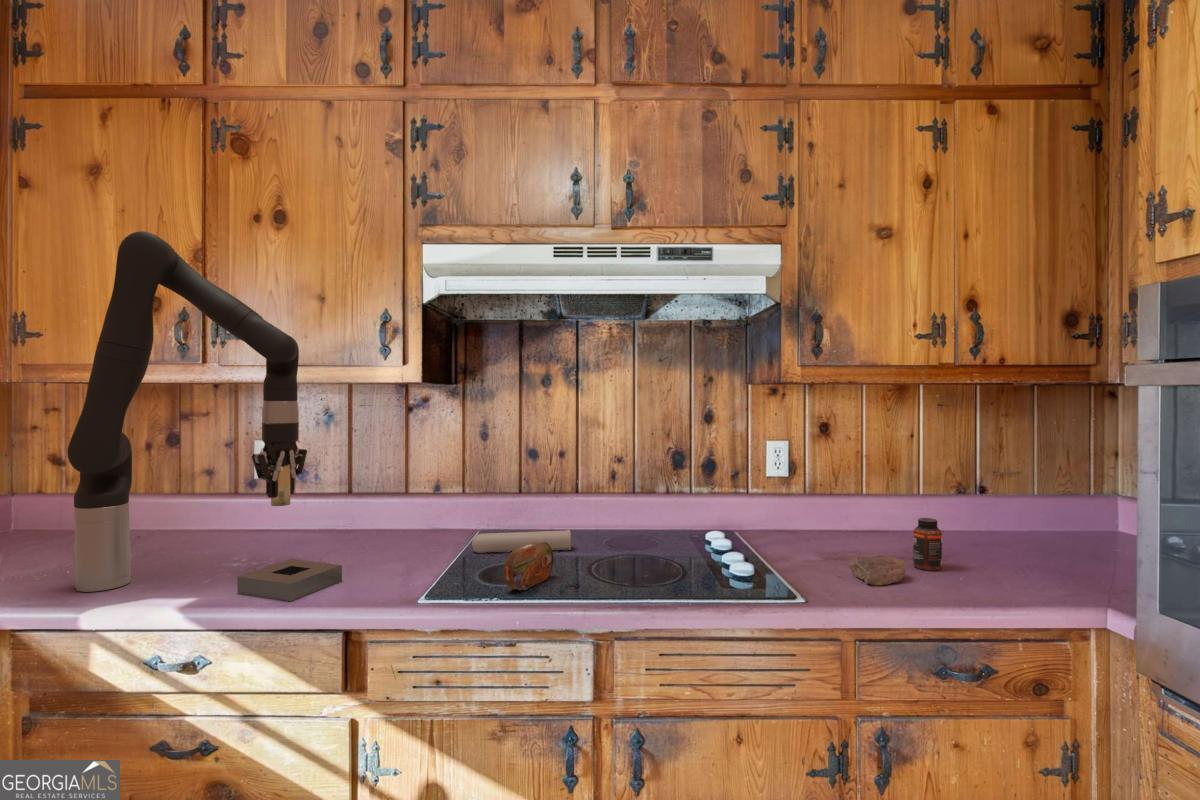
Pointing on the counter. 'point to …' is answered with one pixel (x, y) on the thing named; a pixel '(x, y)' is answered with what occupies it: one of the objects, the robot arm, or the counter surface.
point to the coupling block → (289, 579)
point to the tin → (528, 565)
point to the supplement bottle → (927, 545)
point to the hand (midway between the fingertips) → (280, 495)
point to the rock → (878, 569)
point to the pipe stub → (282, 487)
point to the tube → (520, 540)
